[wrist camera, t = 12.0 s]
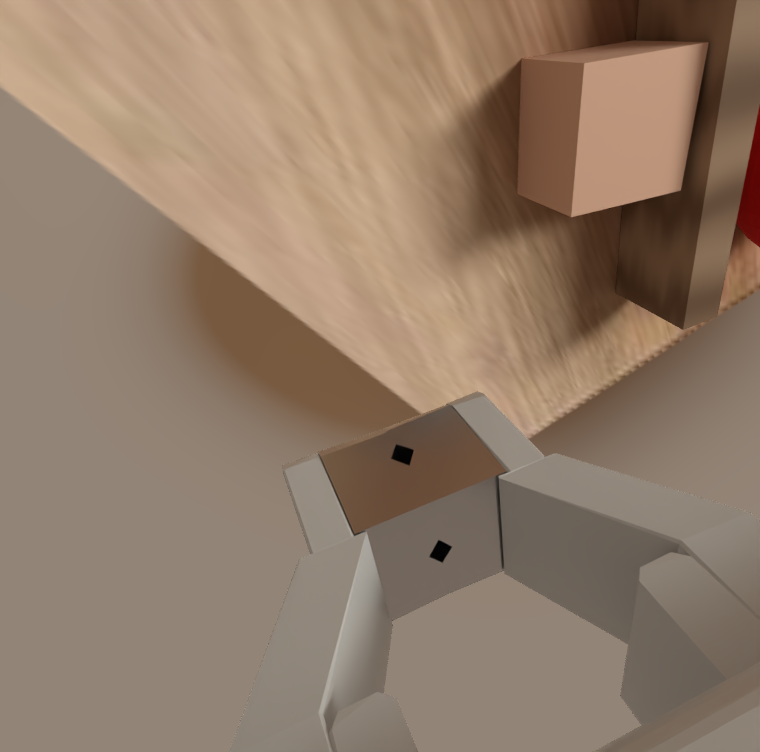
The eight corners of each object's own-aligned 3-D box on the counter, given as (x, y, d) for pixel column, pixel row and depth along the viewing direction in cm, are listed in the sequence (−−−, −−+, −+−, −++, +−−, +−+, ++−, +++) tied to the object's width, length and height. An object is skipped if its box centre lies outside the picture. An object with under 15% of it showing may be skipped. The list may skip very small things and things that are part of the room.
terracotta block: (520, 58, 34) (584, 63, 29) (631, 40, 36) (708, 42, 31) (516, 193, 38) (571, 217, 33) (615, 171, 40) (680, 190, 35)
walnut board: (657, -237, 28) (786, -302, 23) (705, -244, 29) (842, -309, 23) (615, 292, 46) (682, 329, 40) (646, 281, 46) (717, 316, 41)
